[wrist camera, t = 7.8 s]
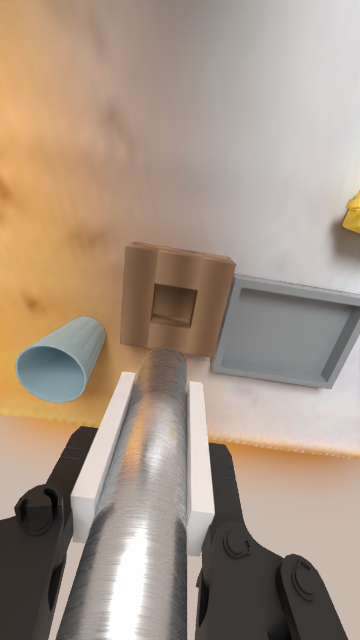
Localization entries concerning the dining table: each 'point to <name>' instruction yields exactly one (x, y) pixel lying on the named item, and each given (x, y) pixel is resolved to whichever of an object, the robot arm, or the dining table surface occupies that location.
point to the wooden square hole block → (174, 298)
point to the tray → (286, 332)
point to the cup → (62, 360)
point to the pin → (139, 520)
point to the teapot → (353, 215)
